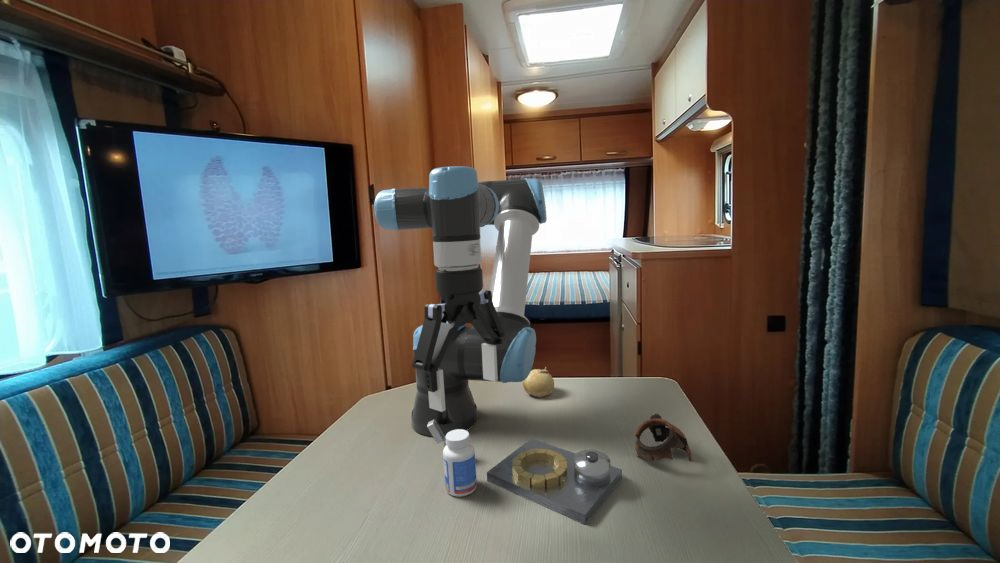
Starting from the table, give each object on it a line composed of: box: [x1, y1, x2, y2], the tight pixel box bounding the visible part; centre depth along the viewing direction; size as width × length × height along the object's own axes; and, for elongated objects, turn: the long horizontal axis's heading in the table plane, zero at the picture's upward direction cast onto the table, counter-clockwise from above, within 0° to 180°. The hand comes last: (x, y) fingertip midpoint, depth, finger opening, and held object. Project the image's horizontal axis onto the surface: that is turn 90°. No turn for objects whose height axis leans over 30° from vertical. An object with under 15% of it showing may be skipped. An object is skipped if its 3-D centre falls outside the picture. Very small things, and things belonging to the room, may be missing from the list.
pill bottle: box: [442, 429, 478, 497], centre depth 74 cm, size 6×5×10 cm
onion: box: [522, 366, 555, 398], centre depth 111 cm, size 8×8×7 cm
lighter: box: [427, 419, 446, 449], centre depth 83 cm, size 7×2×8 cm, turn 88°
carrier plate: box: [486, 437, 623, 525], centre depth 75 cm, size 19×14×5 cm
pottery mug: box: [634, 413, 693, 462], centre depth 82 cm, size 12×10×8 cm
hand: (465, 393), depth 72 cm, fingers open, 13 cm apart
